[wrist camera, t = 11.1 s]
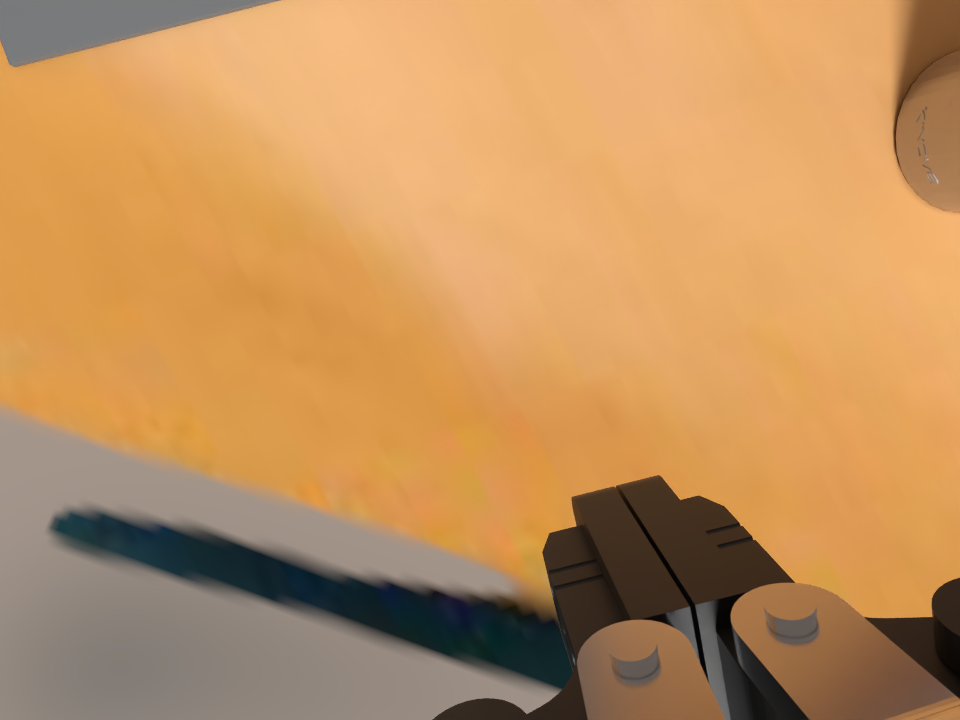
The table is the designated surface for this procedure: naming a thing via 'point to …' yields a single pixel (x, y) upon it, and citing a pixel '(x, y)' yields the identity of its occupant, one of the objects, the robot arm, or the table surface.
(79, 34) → the mat
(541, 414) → the table surface
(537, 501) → the table surface
